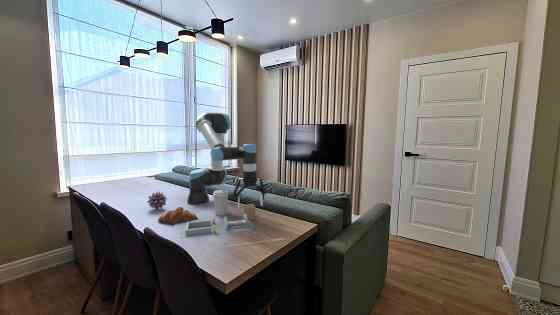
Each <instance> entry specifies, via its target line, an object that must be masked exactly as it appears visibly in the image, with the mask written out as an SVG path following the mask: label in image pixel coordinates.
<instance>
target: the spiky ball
mask: <svg viewBox="0 0 560 315" xmlns="http://www.w3.org/2000/svg"><path fill="white" fill-rule="evenodd" d="M167 201H168V198H167V196H166V195H165V193H164V192H161V191H156V192H152V193H151V195H149V196H148V200H147V202H146V203H148V206H149V208H151V209H154V210H159V209H160V210H161V209H162V208H163V207H164V206H167V204H166V203H167Z"/></svg>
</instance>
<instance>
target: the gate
mask: <svg viewBox="0 0 560 315" xmlns="http://www.w3.org/2000/svg"><path fill="white" fill-rule="evenodd" d="M240 220H241V221H234V220H230V221H231V222H227V221H228V218H227V216H223V222H224V226H225V230H227V229H228V227H234V226H244V225H247V215H246V214H245V213H244V214H242V219H240Z"/></svg>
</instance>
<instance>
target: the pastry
mask: <svg viewBox="0 0 560 315" xmlns="http://www.w3.org/2000/svg"><path fill="white" fill-rule="evenodd" d="M198 219H199V217H197V215H196V214H195V213H194V212H193V213H192V212H190V211H189V209H188V210H187V209H185V210H184V208H183V207H182V206H178V207H177V208H175V209H174V210H168V211H167V212H166V213H165V214H163V215H161V216H159V218H158V219H157V220H158V222H159V223H162V224H169V225H176V224H178V223H183V222H192V221H196V220H198Z"/></svg>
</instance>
